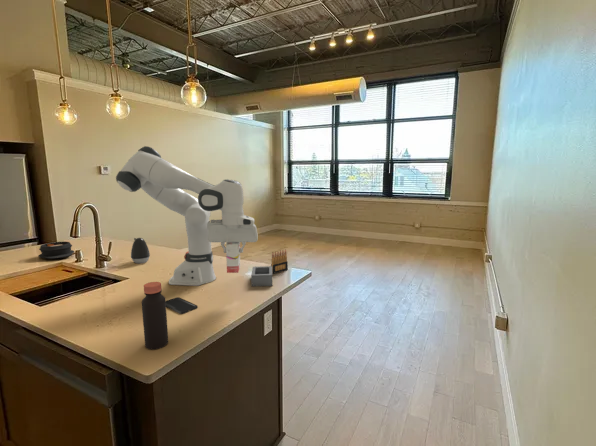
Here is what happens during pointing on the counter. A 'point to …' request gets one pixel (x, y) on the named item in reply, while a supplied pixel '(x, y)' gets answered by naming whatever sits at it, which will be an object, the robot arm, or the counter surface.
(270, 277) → the box
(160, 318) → the bottle
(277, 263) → the ammunition clip
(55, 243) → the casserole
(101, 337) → the counter surface
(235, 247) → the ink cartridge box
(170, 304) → the phone
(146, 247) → the dark grey egg shape
